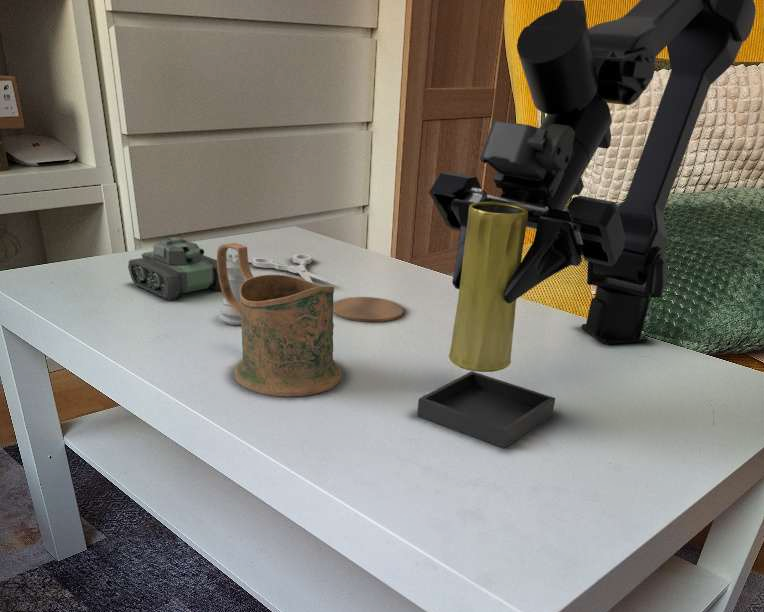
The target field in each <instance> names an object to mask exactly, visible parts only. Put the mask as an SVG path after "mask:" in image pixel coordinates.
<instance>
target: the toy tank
mask: <svg viewBox="0 0 764 612" xmlns="http://www.w3.org/2000/svg"><path fill="white" fill-rule="evenodd" d="M204 254H205V250H204V249H203V248H200V246H199V245H198V244H197V243H195V242H192V241H189V240H187V239H184V238H181V237H170V236H168V237H167V238H165V239H163V240H161V241H160V242H157V243H156V244H154V245H153V251H147V252H143V253H141V257H140V258H133V259H129V260H128V265H127V268H128V272H129V276H130V279H131V280H132V283H133V284H134V285H135V286H137V287H140V288H142V289H143V290H146V291H149V292H151V293H152V294H155V295H156V296H159V297H161V298H164V299H166V300H168V301H174V300H177V299H178V297H179V295H180V293H183V294H185V293H190V292H195V291H200V290H201V291H202V290H206V289H208V288H211V289H213V290H215V291H222V290H221V287H220V282H219V277H218V269H217V259H215V258H212V257H211V256H207V255H204Z"/></svg>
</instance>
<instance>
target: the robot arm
mask: <svg viewBox="0 0 764 612" xmlns="http://www.w3.org/2000/svg"><path fill="white" fill-rule="evenodd" d="M756 8H757V7H756V4H755V1H754V0H639V1H638V2H637V3H636V4H635V5H634V6H633V7H632V8H631V9H630V10H629V11H628V12H627V13H626V14H624V15H623V16H622V17H619V18H617V19H613V20H609V21H605V22H600V23H597V24H595V25H593V26H591V27H589V26H588V21H587V20H588V19H587V11H586V5H585V0H561V1H560V3H559V5H558V7H557V8H556V9H553V10H551V11H548V12H545V13H544V14H542V15H540V16H539V17H537V18H536V19H534V20H533V21H531V22H530V23H529V24H528V25H527V26H525V27H523V29H522V31H521V32H520V34H519V36H518V38H517V42H516V50H517V54H518V57H519V60H520V64H521V67H522V70H523V73H524V77H525V80H526V84H527V87H528V89H529V93H530V96H531V99H532V103H533V105H534V107H535V108H536V110H538V111H539V112H540V113H543V114H546V115H545V118H544V119H543V121H542V122H541V124H540V126H539V127H536V126H534V125H531V124H524V123H516V122H508V121H502V120H494V121H492V122H491V124H490V125H491V126H490V128H489V132H488V134H487V137H486V140H485V143H484V146H483V149H482V153H481V156H480V161H481V162H482V163H483V164H487V165H489V166H490V167H491V168H493V170H495V171H496V173H495V175H494V177H493V178H492V180H493V182H494V184H495V186H496V188H497V189H501V191H502V193H501V194H500V196H497V195H492V194H489V193H487V192H486V191H485V190H484V189H483V188H482V186H481V184H480V182H479V179H478V177H476V176H473V175H467V174H462V173H457V172H451V171H445V172H440V173H439V174H438V176H437V177H436V178H435V181H434V182H433V184H432V185H431V187H430V188H429V190H428V194H429V196H430V197H431V199H432V201H433V203H434V205H435V207H436V208H437V211H438V212H439V215H440V216H441V217H442V219H443V221H444V223H445V225H446V226H447V227H448V228H449V229H451V230H452V231H456V232H459V241H458V247H457V253H456V259H455V265H454V269H453V275H452V285H453V287H454V288H455V289H456V290H459V288H460V280H461V272H462V263H463V255H464V246H465V237H466V230H467V222H468V213H469V206H470V205H471V204H473V203H478V202H501V203H509V204H514V205H519V206H522V207H524V208H526V209H527V210H528V219H527V225H526V229H531V230H535V234H534V238H533V241H532V243H531V245H530V247H529V249H528V250H527V252H526V253H525V255H524V257H523V259H521V264H520V265H519V267H518V269H517V270H516V272H515V274H514V276H513V277H512V279H511V281H510V283H509V285H508V287H507V289H506V291H505V294H504V300H505V302H506V303H509V304H510V303H512V302H513V301H515V300H516V301H517V299H519V298H521V297H522V296H524V295H525V294H526V293H527V292H529V291H530V290H532V289H534V288H535V287H536V286H538V285H539V284H541V283H543V282H544V281H545V280H548V279H549V278H550V277H552V276H554V275H556V274H557V273H559V272H561V271H563V270H565V269H567V268H569V267H571V266H574V267H578V266H581V264H582V262H583V259H584V262H585V261H586V262H587V272H586V273H587V276H586V285H587V286H588V285H589V286H594V287H595V286H596V289H595V294H594V297H592V298H591V300H590V304H589V308H588V313H587V318H586V323H582V324H581V327H580V328H581V329H582V330H583V331H585V332H587V333H588V334H590V335H591V336H592V337H594V338H596V339H597V340H598V341H600V342H601V343H603V344H605V345H612V344H628V343H629V344H630V343H646V342H648V340H649V337H648V336H646V335H645V334H643V333H642V332H643V328H644V324H645V321H646V317H647V312H648V309H649V305H650V301H651V299H653V298H654V299H661V298H662V297H663V293H664V290H665V288H666V286H667V281H668V278H669V272H668V271H669V270H668V266H667V264H668V263H667V258H666V251H665V248H666V245H667V241H668V234H667V229H666V224H665V223H666V222H665V217H664V211H665V208H666V205H667V202H668V200H669V197H670V195H671V192H672V190H673V186H674V184H675V182H676V179H677V176H678V173H679V170H680V167H681V165H682V163H683V160H684V157H685V155H686V152H687V148H688V146H689V143H690V140H691V137H692V135H693V133H694V131H695V127H696V125H697V122H698V119H699V117H700V114H701V111H702V108H703V106H704V103H705V100H706V97H707V95H708V92H709V90H710V88H711V85H713V83H714V82H715V81H716V80H718V78H720V77H721V76H722V75H723V74H724V73H725V72H726V71H727V70H728V69H729V68H730V67H731V66H732V65H733V64H735V61H736V59H737V56H738V54H739V52H740V50H741V47H742V45H743V44H744V43H743V42H746V41H747V40H748V38H749V36H750V34H751V32H752V30H753V27H754V23H755V19H756V12H757V11H756V10H757V9H756ZM665 48H667V49H666V50H667V53H668V60H669V66H670V73H669V76H668V79H667V82H666V84H665V88H664V89H663V93H662V96H661V98H660V101H659V104H658V106H657V110H656V112H655V116H654V118H653V121H652V124H651V128H650V129H649V133H648V135H647V138H646V141H645V143H644V145H643V149H642V152H641V154H640V158H639V160H638V163H637V165H636V169H635V171H634V174H633V177H632V180H631V183H630V186H629V188H628V191H627V194H626V196H625V198H624V200H623V201H622V203H620V204H619V205H617V202H616V201H612V200H606V199H600V198H594V197H591V196H590V197H589V196H584V195H580V194H581V193H582V191H583V189H584V187H585V185H584V181H583V175H584V173H585V172H586V169H587V168H588V166H589V164H590V162H591V161H592V159H593V157H594V156H595V154H596V152H597V150H598V149H599V148H600V149H606V150H608V149H610V147H611V143H612V131H611V125H612V123H613V119H612V113H611V110H610V106H609V104H614V105H624V106H631V105H633V104H634V103H636V102H637V101H638V99H639V98H640V97H641V96H642V94H643V93H644V92H645V91H646V90H647V88H648V87H649V84H650V83H651V82H652V80H653V79H654V75H655V72H656V71H655V69H656V64H655V62H656V58H657V56H658V55H660V54H661V52H662V51H663V50H664V49H665ZM572 195H575V196H574V197H572V198H571V196H572ZM570 198H571V200H570ZM569 200H570V202H569V204H568V205H567V203H568V201H569ZM566 205H567V207H566ZM565 207H566V208H567V210H564V208H565ZM581 255H582V256H581ZM582 257H583V258H582Z"/></svg>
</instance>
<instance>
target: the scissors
mask: <svg viewBox="0 0 764 612" xmlns="http://www.w3.org/2000/svg"><path fill="white" fill-rule="evenodd" d="M312 261H313V259H312V256H311V255H309V254H304V253H298V254H293V256H292V262H293V263H294V264H298V265H297V266H295V265H287V264H280V263H277V262H275V260H274V259H272V258H268V257H267V258H266V257H251V256H248V263H249V264H250V263H251V265H252V266H253V267H256V268H257V267H258V268H265V269H266V268H271V269H276V270H282V271H288V272H290V273H293V274H298V275H300V276H301V278H302V279H303V280H306V281H309V282H312V283H314V282H313V280H312V278H313V279H317V280H320V281H323V282H326V283H329V284H332V285H335V286H336V285H337V286H339V287H340V285H339V284H337V283H335V282H333V281H331V280H329V279H328V278H327V279H326V278H325V277H322V276H320V275H317V274H315V273H312V272H311V271H308V270H307V268H306V267H307V264H308V265H309V264H311V263H312Z"/></svg>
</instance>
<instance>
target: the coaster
mask: <svg viewBox="0 0 764 612" xmlns="http://www.w3.org/2000/svg"><path fill="white" fill-rule="evenodd" d="M333 313H334V314H336V315H337V316H339V317H341V318H343V319H346V320H347V319H348V320H351V321H356V322H364V323H381V322H389V321H393V320H397V319H399V318H400V317H402V315H403V313H404V309H403V307H402V305H400V304H399V303H397V302H395V301H392V300H388V299H385V298H379V297H370V296H354V297H346V298H343V299H340V300H337V301H336V302H333Z"/></svg>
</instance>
